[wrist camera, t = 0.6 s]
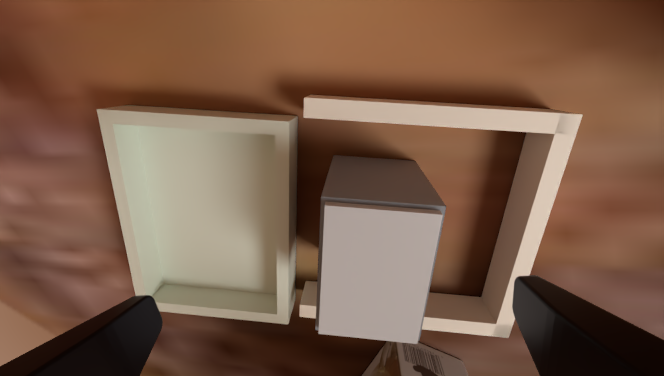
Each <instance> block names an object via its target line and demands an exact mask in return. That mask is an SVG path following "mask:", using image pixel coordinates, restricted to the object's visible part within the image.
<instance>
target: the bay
mask: <svg viewBox="0 0 664 376" xmlns="http://www.w3.org/2000/svg"><path fill="white" fill-rule="evenodd" d="M304 118H316V119H332V120H347V121H362V122H378V123H393V124H409V125H424V126H440V127H455V128H471V129H486V130H501V131H517V132H526V136H525V140H524V143H523V147H522V151H521V154H520V158H519V161H518V165H517V169H516V172H515V176H514V180H513V183H512V187H511V191H510V194H509V198H508V202H507V205H506V209H505V212H504V216H503V220H502V223H501V227H500V231H499V234H498V238H497V242H496V245H495V249H494V252H493V256H492V260H491V263H490V267H489V271H488V274H487V278H486V282H485V285H484V289H483V292H482V296H481V297H474V296H463V295H453V294H442V293H431V292H429V295H428V300H427V305H426V310H425V315H424V320H423V325H422V329H425V330H435V331H445V332H455V333H465V334H475V335H485V336H494V337H504V338H509V335H510V332H511V329H512V326H513V323H514V320H515V317H514V313H513V308H512V303H513V291H514V281H515V279H516V278H517V277H518V276H529V275H530V272H531V269H532V266H533V263H534V260H535V257H536V254H537V251H538V248H539V245H540V242H541V239H542V236H543V233H544V230H545V227H546V224H547V221H548V218H549V215H550V212H551V209H552V206H553V203H554V200H555V197H556V194H557V191H558V188H559V185H560V182H561V179H562V176H563V173H564V170H565V167H566V164H567V161H568V158H569V155H570V152H571V149H572V145H573V142H574V139H575V136H576V133H577V130H578V127H579V124H580V121H581V118H582V114H577V113H571V112H565V111H559V110H553V109H539V108H523V107H506V106H490V105H473V104H457V103H440V102H423V101H407V100H390V99H374V98H357V97H341V96H324V95H309V96H307V97H304ZM316 301H317V282H315V281H306V282H305V286H304V290H303V294H302V298H301V302H300V317H306V318H316Z"/></svg>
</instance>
